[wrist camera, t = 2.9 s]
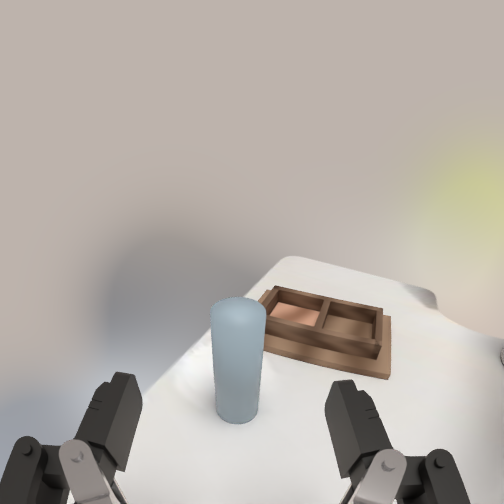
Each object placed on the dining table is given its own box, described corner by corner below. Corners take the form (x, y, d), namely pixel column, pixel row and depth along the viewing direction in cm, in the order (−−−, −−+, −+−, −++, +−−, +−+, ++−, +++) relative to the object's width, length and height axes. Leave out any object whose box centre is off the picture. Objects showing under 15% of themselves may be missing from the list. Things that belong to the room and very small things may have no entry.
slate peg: (251, 390, 29) (256, 294, 25) (263, 419, 26) (274, 323, 21) (213, 396, 28) (206, 300, 23) (221, 427, 24) (215, 331, 19)
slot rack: (388, 321, 42) (394, 303, 41) (387, 379, 30) (397, 360, 29) (266, 294, 50) (267, 276, 48) (230, 340, 38) (230, 320, 36)
